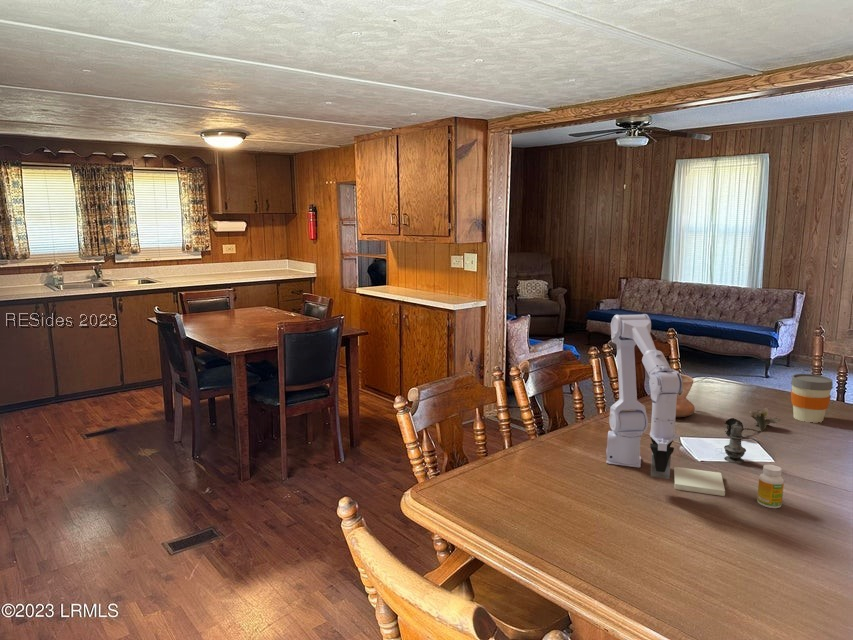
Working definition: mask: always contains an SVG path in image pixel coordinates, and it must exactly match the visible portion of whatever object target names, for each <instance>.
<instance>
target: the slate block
mask: <svg viewBox="0 0 853 640" xmlns="http://www.w3.org/2000/svg"><path fill="white" fill-rule="evenodd" d="M671 456H672V454H671V455H670V457H669V460H668V463H667V467H666V470H665V472H659V471H656V468H655V460H654V455H653V452H652V451H651V461H650V477H653V478H658V479H664V480H665V479H666V480H670V473H671V461H672V460H671V458H672V457H671Z"/></svg>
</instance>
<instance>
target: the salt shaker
mask: <svg viewBox="0 0 853 640" xmlns="http://www.w3.org/2000/svg"><path fill="white" fill-rule="evenodd" d="M742 434H743V431H742V426H741V425H739V424H738V422H736V424H733V425H732V426H731V434H730V435H729V436H730V437H729V436H728V437H729V443H728V444H726V445H724V446H723V449H724V452H725V454H726V456H724V457H723V458H724V460H725V461H727V462H729V463H732V464H744V462H745V460H744V459H743V458H742V457H744V455H745V453H746V452H747V449H746V448H745V447H743V445H742V439H743V438H744V437H743V435H742Z"/></svg>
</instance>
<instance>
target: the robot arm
mask: <svg viewBox="0 0 853 640" xmlns="http://www.w3.org/2000/svg"><path fill="white" fill-rule="evenodd" d="M651 329H652V321H651V318H650V317H649V315H648V314H647V313H642V314H615V315H614V316H613V317H612V318H611V322H610V335H611V336H610V338H611V342H612V343H613V344H615V345H616V357H617V361H616V362H617V376H618V377H617V378H618V380H617V381H618V398H619V399H618V400H617V401H616V402H614V403H613V404H612V405H611V406H610V408H609V419H608V421H609V427H610V429H611V430H608V432H607V440H606V443H607V444H606V451H605V455H606V462H605V463H606V464H610V465H617V466H624V467H632V468H641V464H642V456H641V454H640V453H641V436H643V435H644V432H646V431H647V429H648V427H649V418H648V414H647V411H646V410H647V409H646V406H645V405H644V404H643V403H641V402H640V401H639V400H638V397H637V396H638V394H637V376H636V375H637V374H636V372H637V371H636V356H635V346H637V347H638V349H639V351H640V352H641V354H642V355H643V356H642V357H641V358H642V359H641V362H642V364H643V367H644V369H645V370H646V372H647V375H648V377H649V380H648V385H649V390H650V399H651V401H652V403H651V420H650V423H651V424H650V431H649V436H650V440H651V443H650V445H649V446H650V450H651V453H652V452H653V455H654V460H655V468H656V471H659V472H665V470H666V467H667V463H668V460H669V457H670V455H671V456H672V454H673V453H674V450H675V447H672V444H673V442H674V440H679V439H680V434H679V433H676V429H675V428H676V418H677V417H676V402H677V394H679V393H680V392H681V390H682V378H681V376H680V374H681V373H680V372H679V371H677V370H675V369H674V368H671V366H670V364H669V362H668V360H667V359H666V357H665V355H664V353H663V352H662V351H661V350H660V349H659V350H658V349H657V348H656V346H655V342H654V340H653V338H652V335H651V332H652V331H651Z"/></svg>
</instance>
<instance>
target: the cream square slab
mask: <svg viewBox="0 0 853 640" xmlns="http://www.w3.org/2000/svg"><path fill="white" fill-rule="evenodd" d="M673 478H674V480H673V481H674V490H679V491H686V492H692V493H699V494H700V493H701V494H707V495H713V496H719V497H720V496H722V497H725V495H726V489H725V485H724V481H723V480H724V479H723V476H722V472H717V471H709V470H704V469H703V470H702V469H694V468H687V467H681V466H679V467H678V466H674V468H673Z"/></svg>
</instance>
